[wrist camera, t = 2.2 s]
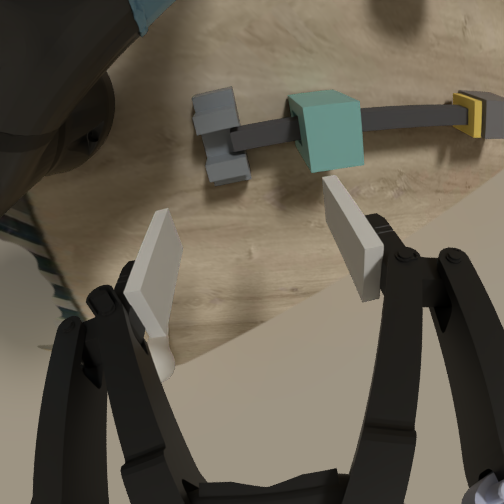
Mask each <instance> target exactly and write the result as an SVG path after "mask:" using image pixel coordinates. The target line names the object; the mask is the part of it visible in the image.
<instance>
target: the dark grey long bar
mask: <svg viewBox="0 0 504 504" xmlns="http://www.w3.org/2000/svg"><path fill="white" fill-rule="evenodd" d="M360 111H361V123H362V132H364V131H373V130H384V129H395V128H409V127H425V126H446V125H453V127H454V128H456V129H458V130H460V131H462V132H464V133H466V134H468V135H470V136H471V137H473V138H481V122H482V101H479V100H477V99H474V98H471V97H468V96H466V95H463V94H458V93H453V105H405V106H386V107H372V108H360ZM230 135H231V140H232V144H233V148H234V152H237V151H242V150H247V149H252V148H257V147H262V146H268V145H273V144H279V143H285V142H291V141H297V140H301V134H300V127H299V121H298V116H294V117H287V118H281V119H275V120H270V121H264V122H258V123H253V124H248V125H243V126H238V127H233V128H230Z"/></svg>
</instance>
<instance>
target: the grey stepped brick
mask: <svg viewBox="0 0 504 504" xmlns="http://www.w3.org/2000/svg"><path fill="white" fill-rule="evenodd" d="M192 101H193V105H194V109H195V114H194V116H193V117H192V118H193V122H194V126H195V130H196V133H197V135H201V136H202V140H203V143H204V147H205V151H206V155H207V161H206V165H205V167H206V170H207V174H208V177H209V181H210V182H214V184H215V186H220V185H224V184H229V183H234V182H239V181H244V180H249V179H251V171H250V166H249V162H248V157H247V153H246V150H242V151H237V152H234V148H233V144H232V140H231V135H230V128H233V127H238V126H241V125H240V120H239V116H238V111H237V107H236V102H235V98H234V93H233V89H232V86H231V87H227V88H222V89H218V90H213V91H209V92H205V93H201V94H197V95H194V96H193V97H192Z"/></svg>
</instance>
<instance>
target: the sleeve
mask: <svg viewBox="0 0 504 504" xmlns="http://www.w3.org/2000/svg"><path fill="white" fill-rule="evenodd" d="M288 101H289V106H290V112H291V117H294V116H298V121H299V127H300V134H301V140H297V141H295V144H296V148H297V149H298V151H299V153H300V154H301V156H302V158H303V159H304V161H305V163H306V164H307V166H308V168H309V169H310V171H311V173H314V172H321V171H327V170H333V169H340V168H347V167H353V166H361V165H364V153H363V137H362V123H361V111H360V101H358V100H356V99H354V98H351V97H349V96H347V95H345V94H342V93H340V92H338V91H335V90H324V91H315V92H307V93H299V94H292V95H288Z"/></svg>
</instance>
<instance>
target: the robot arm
mask: <svg viewBox="0 0 504 504" xmlns="http://www.w3.org/2000/svg"><path fill="white" fill-rule="evenodd" d="M175 1H176V0H0V218H1V217H2V216H3V215H4V214H5V213H6V212H7V211H8V210H9V209H10V208H11V207H12V206H13V205H14V204H15V203H16V202H17V201H18V200H19V199H20V198H21V197H22V196H23V195H24V194H25V193H26V192H28V191H29V190H30V189H31V188H32V187H33V186H34V185H35V184H36V183H37V182H39V181H40V180H41V179H42V178H43V177H44V176H48V175H53V174H58V173H63V172H67V171H70V170H72V169H74V168H76V167H78V166H80V165H81V164H83V163H84V162H85V161H87V160H88V159H89V158H90V157H91V156H92V155H93V154H95V153H96V152H97V151H98V149H99V148H100V147H101V146H102V144H103V143H104V141H105V139H106V138H107V136H108V134H109V131H110V129H111V126H112V122H113V117H114V110H115V98H114V91H113V87H112V83H111V80H110V78H109V76H108V74H107V72H106V70H107V69H108V68H109V67H110V66H111V65H112V64H113V63H114V62H115V61H116V60H117V58H118V57H119V56H120V55H121V54H122V53H123V52H124V51H125V50H126V49H127V48H128V47H129V46H130V45H131V44H132V43H133V42H134V41H135V40H136V39H137V38H138V37H139V36H141V37H143V36H144V35H145V34H146V33H147V31H148V27H149V26H150V25H151V24H152V23H153V22H154V21H155V20H156V19H157V18H158V17H159V16H160V15H161V14H162V13H163V12H164V11H165V10H166V9H167V8H168V7H169V6H171V5H172V4H173V3H174V2H175ZM322 183H323V193H324V204H325V216H326V222H327V224H328V226H329V228H330V231H331V233H332V235H333V237H334V239H335V241H336V243H337V246H338V248H339V250H340V252H341V254H342V257H343V259H344V261H345V263H346V265H347V268H348V270H349V272H350V275H351V277H352V279H353V281H354V284H355V286H356V288H357V291H358V293H359V295H360V298H361V300H362V302H367V301H371V300H375V299H379V297H380V289H381V291H382V293H383V295H384V302H383V309H382V319H381V326H380V333H379V340H378V348H377V353H376V360H375V366H374V372H373V377H372V383H371V388H370V392H369V397H368V402H367V407H366V412H365V416H364V420H363V424H362V428H361V432H360V437H359V440H358V444H357V448H356V452H355V455H354V458H353V462H352V465H351V469H350V472H349V474H338V473H337V469H336V468H335V469H330V470H325V471H320V472H314V473H309V474H302V475H300V476H298V477H295V478H292V479H289V480H287V481H284V482H281V483H278V484H276V485H273V486H270V487H260V486H252V485H246V484H240V483H235V482H213V483H207V481H206V480H205V479H204V477H203V476H202V475H201V474H200V472H199V470H198V468H197V467H196V464H195V462H194V460H193V458H192V456H191V454H190V451H189V449H188V447H187V445H186V443H185V440H184V438H183V436H182V433H181V431H180V429H179V426H178V424H177V422H176V419H175V417H174V414H173V412H172V410H171V407H170V405H169V402H168V400H167V397H166V394H165V392H164V389H163V386H162V384H161V381H160V378H159V376H158V373H157V370H156V367H155V364H154V362H153V359H152V356H151V353H150V350H149V347H148V344H147V342H146V341H145V339H144V338H143V337H144V333H145V330H146V332H147V333H148V335H149V336H150V338H155V337H164V336H166V335H167V329H168V323H169V318H170V312H171V307H172V301H173V296H174V291H175V286H176V281H177V276H178V271H179V266H180V261H181V256H182V252H183V246H182V244H181V241H180V238H179V236H178V233H177V230H176V228H175V225H174V222H173V220H172V217H171V214H170V211H169V209H168V208H166V209H162V210H157V211H155V213H154V216H153V218H152V220H151V223H150V225H149V228H148V230H147V232H146V235H145V237H144V240H143V242H142V245H141V247H140V250H139V252H138V255H137V258H136V260H134V261H129V262H128V263H127V264H126V265H125V266H124V267H123V269H122V271H121V273H120V276H119V278H118V281H117V283H116V286H115V288H114V289H113V288H112V286H110V285H102V286H99V287H97V288H96V289H94V290H93V291H92V292H91V293H90V294H89V295H88V297H87V299H86V303H87V305H88V306H89V308H90V309H91V311H92V312H93V314H94V315H95V318H92V319H90V320H88V321H85V322H83V323H82V321H81V320H80V318H79V317H77V316H71V317H69V318H67V319H65V320H64V321H63V322H62V323H61V324H60V325H59V327H58V329H57V333H56V337H55V341H54V344H53V348H52V353H51V357H50V361H49V366H48V371H47V376H46V381H45V386H44V391H43V397H42V403H41V410H40V416H39V423H38V431H37V440H36V450H35V461H34V477H33V497H32V500H31V504H109V497H108V483H107V482H108V481H107V456H106V455H107V452H106V422H107V391H108V395H109V400H110V404H111V408H112V413H113V417H114V421H115V425H116V429H117V433H118V436H119V440H120V444H121V447H122V451H123V454H124V458H125V464H124V465H123V466H122V467H121V475H122V479H123V482H124V485H125V488H126V491H127V494H128V497H129V499H130V503H131V504H404V503H403V502H404V499H405V495H406V490H407V486H408V481H409V477H410V472H411V467H412V462H413V457H414V452H415V446H416V431H415V426H414V425H415V417H416V410H417V402H418V392H419V382H420V369H421V352H422V315H423V309H422V307H429V309H430V312H431V316H432V319H433V322H434V326H435V329H436V332H437V336H438V339H439V343H440V347H441V350H442V354H443V358H444V362H445V366H446V370H447V374H448V378H449V383H450V387H451V392H452V396H453V401H454V407H455V412H456V417H457V423H458V429H459V435H460V443H461V450H462V457H463V464H464V470H465V475H466V479H467V482H468V486H469V489H468V491H467V492H466V493H465V495H464V497H463V499H462V504H504V329H503V327H502V325H501V322H500V320H499V318H498V315H497V313H496V311H495V309H494V307H493V304H492V302H491V300H490V298H489V296H488V294H487V292H486V290H485V288H484V286H483V284H482V282H481V280H480V278H479V276H478V274H477V272H476V270H475V268H474V267H473V265H472V263H471V261H470V259H469V257H468V256H467V255H466V253H465V252H463V251H461V250H460V249H457V248H445V249H443V250H441V251H440V254H439V257H438V258H425V257H420V254H419V253H418V252H417V251H416V250H414V249H412V248H409V247H405V245H404V244H403V243H402V241H401V240H400V238H399V237H398V236H397V234H396V233H395V231H393V229H392V227H391V226H390V225H389V223H388V222H387V221H386V219H385V218H384V217H382V216H380V215H378V214H377V213H376V214H370V215H364V214H363V213H362V211H361V210H360V208H359V207H358V206H357V204H356V203H355V201H354V200H353V198H352V197H351V196H350V194H349V193H348V191H347V190H346V189H345V187H344V186H343V184H342V183H341V182H340V180H339V179H338V177H337V176H336V175H332V176H326V177H322Z"/></svg>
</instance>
